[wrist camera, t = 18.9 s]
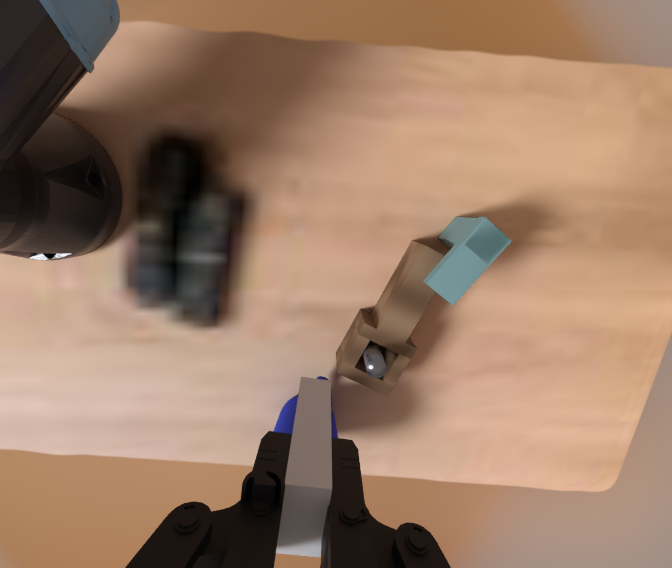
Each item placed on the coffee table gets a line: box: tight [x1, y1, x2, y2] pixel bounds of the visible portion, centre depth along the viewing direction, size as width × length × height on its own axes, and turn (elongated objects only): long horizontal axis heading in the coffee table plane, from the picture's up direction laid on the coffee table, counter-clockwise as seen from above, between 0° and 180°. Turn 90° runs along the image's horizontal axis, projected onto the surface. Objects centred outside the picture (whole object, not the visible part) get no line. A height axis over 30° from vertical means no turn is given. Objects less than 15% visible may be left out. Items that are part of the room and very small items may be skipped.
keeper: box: [423, 217, 511, 305], centre depth 34 cm, size 4×8×7 cm, turn 141°
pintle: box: [363, 340, 387, 378], centre depth 36 cm, size 2×2×8 cm
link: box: [336, 240, 444, 396], centre depth 37 cm, size 16×6×5 cm, turn 153°
